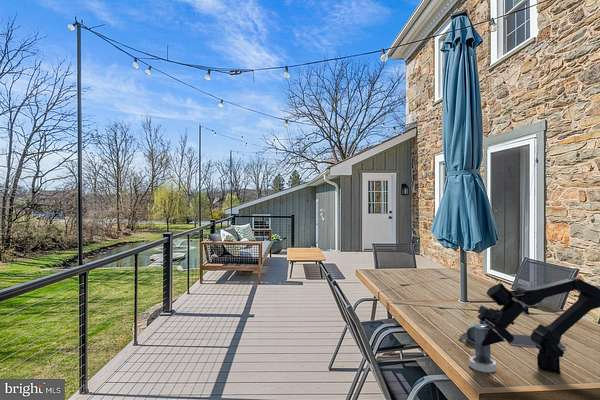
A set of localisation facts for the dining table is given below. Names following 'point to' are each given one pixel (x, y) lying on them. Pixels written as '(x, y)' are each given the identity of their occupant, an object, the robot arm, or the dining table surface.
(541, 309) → the dining table surface
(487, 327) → the canister
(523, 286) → the ceramic cottage
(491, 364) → the collar
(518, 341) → the notebook
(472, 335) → the ceramic mug
